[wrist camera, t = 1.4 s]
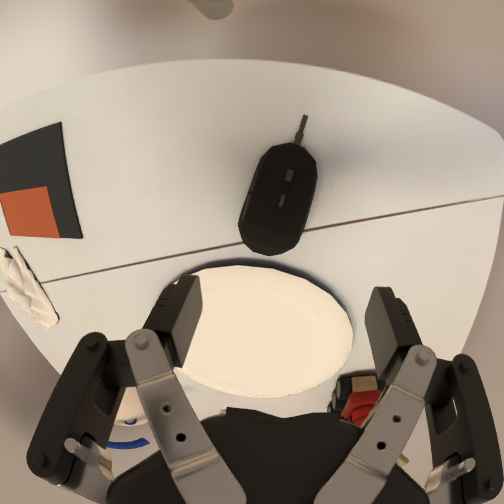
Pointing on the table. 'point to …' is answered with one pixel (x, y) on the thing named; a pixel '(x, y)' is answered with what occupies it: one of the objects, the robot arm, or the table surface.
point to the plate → (265, 333)
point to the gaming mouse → (279, 198)
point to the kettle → (130, 418)
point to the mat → (37, 186)
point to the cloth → (27, 289)
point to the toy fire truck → (358, 400)
